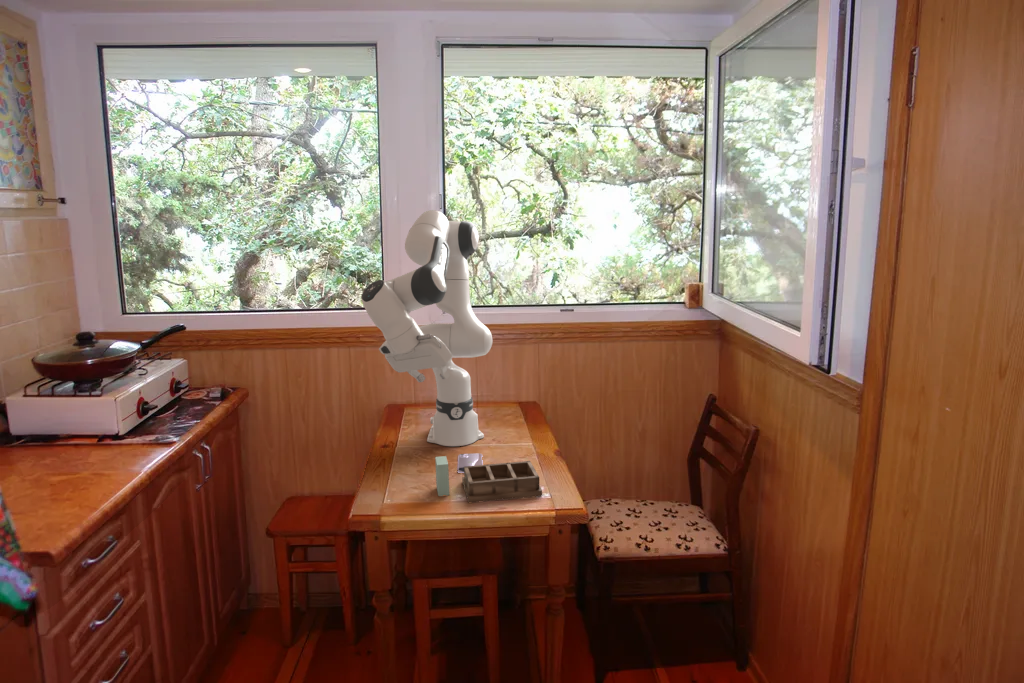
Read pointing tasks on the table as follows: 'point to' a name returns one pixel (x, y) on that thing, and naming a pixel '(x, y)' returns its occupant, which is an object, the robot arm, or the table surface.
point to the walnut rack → (501, 481)
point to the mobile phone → (469, 461)
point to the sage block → (442, 475)
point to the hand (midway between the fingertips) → (434, 379)
